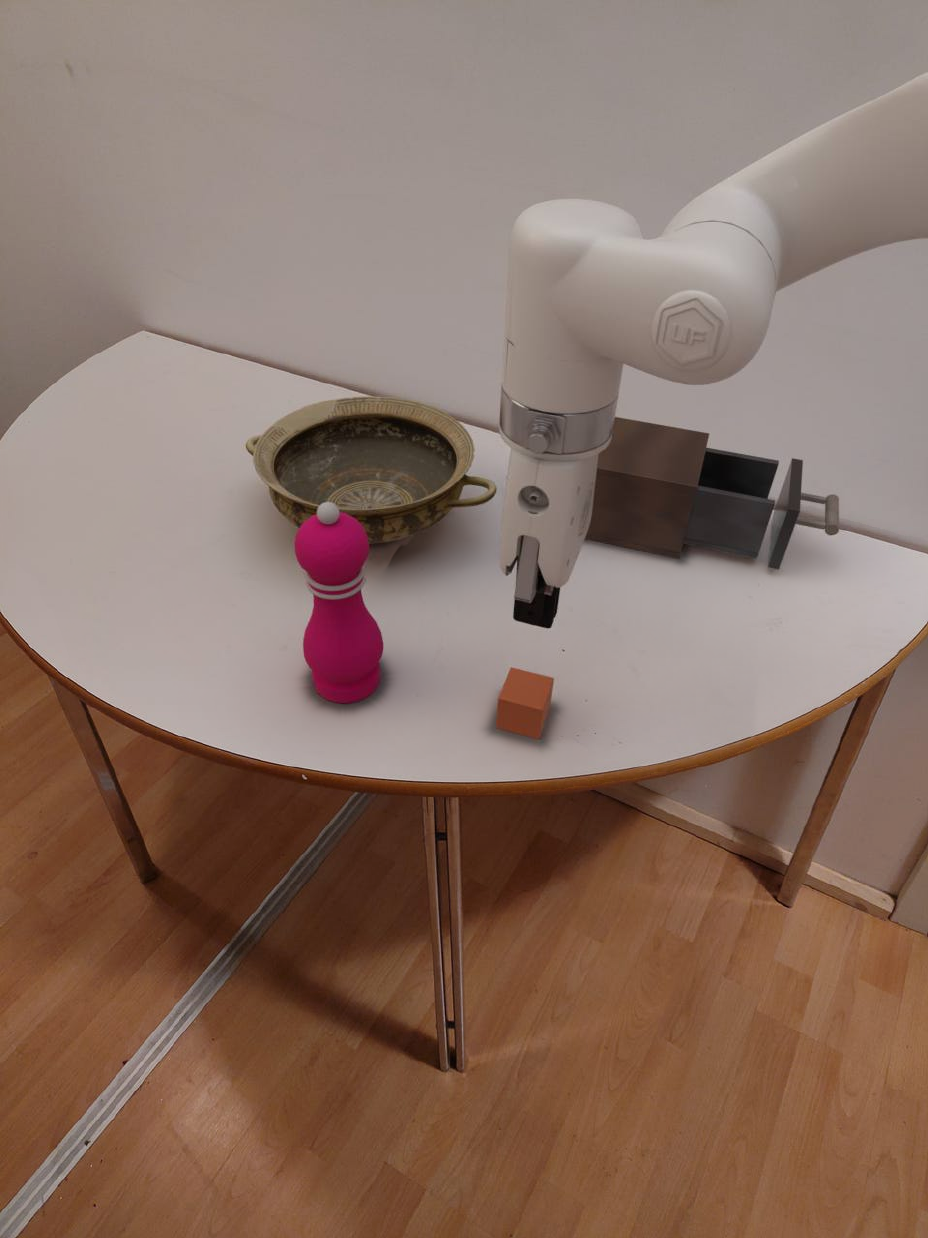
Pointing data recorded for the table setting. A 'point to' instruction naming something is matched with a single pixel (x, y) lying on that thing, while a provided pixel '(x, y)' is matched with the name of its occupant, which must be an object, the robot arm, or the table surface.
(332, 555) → the pepper mill
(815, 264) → the robot arm
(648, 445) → the cabinet
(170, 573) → the table surface
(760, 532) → the drawer
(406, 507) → the ceramic bowl
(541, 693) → the block
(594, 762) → the table surface
